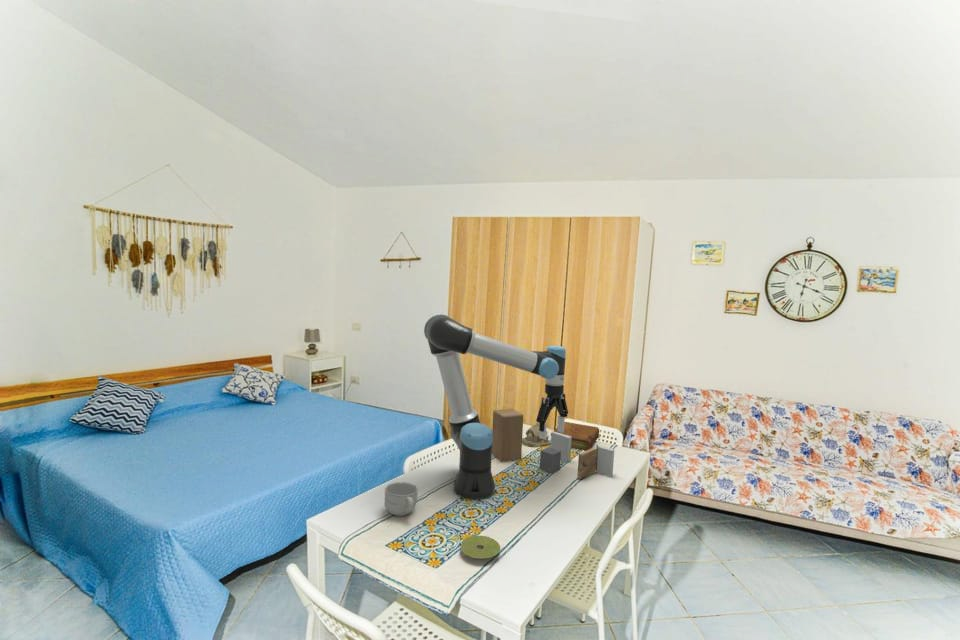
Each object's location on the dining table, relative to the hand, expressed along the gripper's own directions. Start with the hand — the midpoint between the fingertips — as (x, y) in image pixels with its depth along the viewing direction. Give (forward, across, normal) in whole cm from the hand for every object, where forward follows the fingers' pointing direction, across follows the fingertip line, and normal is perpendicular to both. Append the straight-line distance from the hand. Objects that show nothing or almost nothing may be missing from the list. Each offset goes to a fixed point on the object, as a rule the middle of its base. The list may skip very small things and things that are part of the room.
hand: (551, 435), depth 189 cm
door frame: (+15, +13, -7) cm, 21 cm away
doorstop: (+15, 0, 0) cm, 15 cm away
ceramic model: (+15, +22, +23) cm, 35 cm away
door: (+14, +7, -14) cm, 21 cm away
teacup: (+15, -67, +12) cm, 69 cm away
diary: (+15, +39, +12) cm, 44 cm away
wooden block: (+15, -3, +21) cm, 26 cm away
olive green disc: (+15, -64, -20) cm, 69 cm away
